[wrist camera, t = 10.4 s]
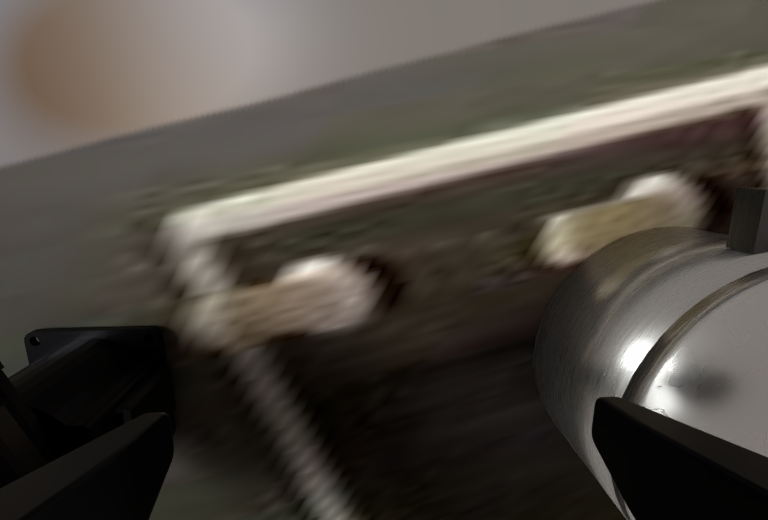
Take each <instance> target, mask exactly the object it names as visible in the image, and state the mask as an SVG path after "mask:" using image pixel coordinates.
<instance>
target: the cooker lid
mask: <svg viewBox="0 0 768 520" xmlns="http://www.w3.org/2000/svg"><path fill="white" fill-rule="evenodd" d="M622 398H623V399H625V400H628V401H630V402H632V403H635V404H637V405H640V406H642V407H645V408H647V409H650V410H652V411H655V412H657V413H660V414H662V415H665V416H667V417H669V418H672V419H674V420H677V421H679V422H682V423H684V424H687V425H689V426H692V427H694V428H697V429H699V430H702V431H704V432H706V433H709V434H711V435H714V436H716V437H719V438H721V439H724V440H726V441H729V442H731V443H734V444H736V445H739V446H741V447H743V448H746V449H748V450H751V451H753V452H756V453H758V454H761V455H763V456H766V457H768V267H766V268H763V269H760V270H758V271H755V272H752V273H749V274H747V275H745V276H743V277H741V278H739V279H737V280H735V281H732V282H730V283H728V284H726V285H725V286H723V287H721V288H720V289H718V290H717V291H715V292H713V293H712V294H710V295H708V296H707V297H705V298H704V299H702V300H701V301H700V302H698V303H697V304H696V305H695V306H693V307H692V308H691V309H689V310H688V311H687V312H686V313H684V314H683V315H682V316H681V317H680V318H679V319H678V320H677V321H676V322H675V323H674V324H673V325H672V326H671V327H669V328H668V329H667V330H666V331H665V332H664V333H663V335H662V336H661V337H660V338H659V339H658V341H657V342H656V343H655V344H654V345H653V347H652V348H651V349H650V350H649V351H648V353H647V354H646V356H645V357H644V359H643V360H642V362H641V363H640V365H639V366H638V368H637V369H636V371H635V372H634V374H633V376H632V378H631V380H630V382H629V384H628V386H627V388H626V390H625V392H624V394H623V396H622ZM611 479H612V483H613V487H614V491H615V495H616V498H617V500H618V502H619V505H620V507H621V509H622V511H623V513H624V515H625V516H626V518H627V519H628V520H635V518H634V517H633V515H632V513H631V512H630V510H629V508H628V506H627V505H626V503H625V501H624V499H623V497H622V495H621V494H620V492H619V490H618V488H617V486H616V484H615V482H614V480H613V478H612V476H611Z"/></svg>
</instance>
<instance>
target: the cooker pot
mask: <svg viewBox="0 0 768 520" xmlns="http://www.w3.org/2000/svg"><path fill="white" fill-rule="evenodd" d="M766 267H768V188H737V191H736V196H735V202H734V207H733V212H732V217H731V223H730V228H729V233H728V235H725V234H720V233H715V232H710V231H705V230H699V229H694V228H689V227H662V228H653V229H649V230H644V231H639V232H636V233H633V234H631V235H628V236H625V237H622V238H620V239H618V240H616V241H614V242H612V243H610V244H608V245H606V246H604V247H603V248H601V249H600V250H598V251H596V252H595V253H593V254H592V255H591V256H589V257H588V258H587V259H586V260H584V261H583V262H582V263H581V264H580V265H578V266H577V267H576V268H575V269H574V270H573V271H572V272H571V273H570V274H569V276H568V277H567V278H566V279H565V280H564V281H563V283H562V284H561V285H560V286H559V288H558V289H557V290H556V292H555V293H554V295H553V297H552V298H551V300H550V302H549V303H548V305H547V307H546V309H545V311H544V313H543V316H542V318H541V320H540V323H539V326H538V330H537V333H536V336H535V342H534V348H533V375H534V382H535V386H536V389H537V393H538V396H539V398H540V401H541V403H542V405H543V407H544V409H545V411H546V412H547V414H548V415H549V417H550V418H551V420H552V421H553V422H554V424H555V425H556V426H557V428H558V429H559V430H560V432H561V433H562V434H563V436H564V437H565V438H566V440H567V441H568V442H569V444H570V445H571V446H572V448H573V449H574V450H575V451H576V453H577V454H578V455H579V457H580V458H581V459H582V461H583V462H584V463H585V465H586V466H587V467H588V469H589V470H590V471H591V473H592V474H593V475H594V477H595V478H596V479H597V481H598V482H599V483H600V485H601V486H602V487H603V489H604V490H605V491H606V493H607V494H608V495H609V497H610V498H611V499H612V501H613V502H614V503H615V505H616V506H617V507H618V509H619V510H620V511H621V513H622V514H623V515H624V513H623V511H622V509H621V507H620V505H619V502H618V500H617V498H616V495H615V491H614V487H613V483H612V479H611V475H610V473H609V471H608V469H607V467H606V465H605V463H604V461H603V459H602V457H601V456H600V454H599V452H598V450H597V448H596V446H595V444H594V442H593V439H592V432H591V431H592V422H593V414H594V406H595V402H596V400H597V399H598V398H599V397H610V396H616V397H620V398H622V396H623V394H624V392H625V390H626V388H627V386H628V384H629V382H630V380H631V378H632V376H633V374H634V372H635V371H636V369H637V368H638V366H639V365H640V363H641V362H642V360H643V359H644V357H645V356H646V354H647V353H648V351H649V350H650V349H651V348H652V347H653V345H654V344H655V343H656V342H657V341H658V339H659V338H660V337H661V336H662V335H663V333H664V332H665V331H666V330H667V329H668V328H669V327H671V326H672V325H673V324H674V323H675V322H676V321H677V320H678V319H679V318H680V317H681V316H682V315H683V314H684V313H686V312H687V311H688V310H689V309H691V308H692V307H693V306H695V305H696V304H697V303H698V302H700V301H701V300H702V299H704V298H705V297H707V296H708V295H710V294H712V293H713V292H715V291H717V290H718V289H720V288H721V287H723V286H725V285H726V284H728V283H730V282H732V281H735V280H737V279H739V278H741V277H743V276H745V275H747V274H749V273H752V272H755V271H758V270H760V269H763V268H766ZM624 517H625V518H626V516H625V515H624ZM626 519H627V518H626ZM627 520H628V519H627Z"/></svg>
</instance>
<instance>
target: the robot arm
mask: <svg viewBox="0 0 768 520" xmlns="http://www.w3.org/2000/svg"><path fill="white" fill-rule="evenodd" d="M148 334H151V335H153V337H154V340H152V339H150V338H148ZM36 337H37V338H39V340H40V342H38V341H37V340H36ZM24 342H25V347H26V351H27V356H28V360H29V366H27V367H25V368H24V369H22V370H20V371H19V372H17V373H15V374H14V375H12V376H10V377H9V378H7V376H6V375H5V373H4V372H3V371H2V369H3V368H4V366H3V365H2V363H1V362H0V520H149V517H150V515H151V512H152V510H153V507H154V505H155V502H156V500H157V497H158V495H159V492H160V490H161V487H162V485H163V482H164V479H165V477H166V474H167V472H168V469H169V467H170V464H171V462H172V459H173V454H174V445H173V438H172V436H173V435H174V433H175V422H174V414H173V413H174V412H175V410H176V404H175V397H174V389H173V382H172V374H171V369H170V367H169V366H168V365H167V363H166V355H165V348H164V341H163V334H162V332H161V330H160V329H159V328H157V327H154V326H135V327H97V328H58V329H37V330H34V331H32V332H30V333H28V334H27V335H26V336H25V338H24ZM591 432H592V439H593V442H594V444H595V446H596V448H597V450H598V452H599V454H600V456H601V457H602V459H603V461H604V463H605V465H606V467H607V469H608V471H609V473H610V475H611V476H612V478H613V480H614V482H615V484H616V486H617V488H618V490H619V492H620V494H621V495H622V497H623V499H624V501H625V503H626V505H627V506H628V508H629V510H630V512H631V513H632V515H633V517H634V518H635V520H768V457H766V456H763V455H761V454H758V453H756V452H753V451H751V450H748V449H746V448H743V447H741V446H739V445H736V444H734V443H731V442H729V441H726V440H724V439H721V438H719V437H716V436H714V435H711V434H709V433H706V432H704V431H702V430H699V429H697V428H694V427H692V426H689V425H687V424H684V423H682V422H679V421H677V420H674V419H672V418H669V417H667V416H665V415H662V414H660V413H657V412H655V411H652V410H650V409H647V408H645V407H642V406H640V405H637V404H635V403H632V402H630V401H628V400H625V399H623V398H620V397H616V396H610V397H599V398H598V399H597V400H596V402H595V406H594V414H593V422H592V431H591Z"/></svg>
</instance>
